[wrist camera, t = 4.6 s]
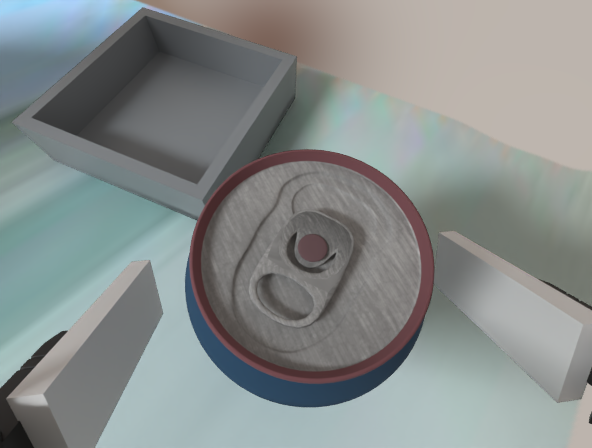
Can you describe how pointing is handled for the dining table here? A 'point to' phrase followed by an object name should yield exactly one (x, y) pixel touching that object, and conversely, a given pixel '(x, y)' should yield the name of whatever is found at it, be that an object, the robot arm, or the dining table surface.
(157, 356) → the dining table surface
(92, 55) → the bin
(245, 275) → the soda can
